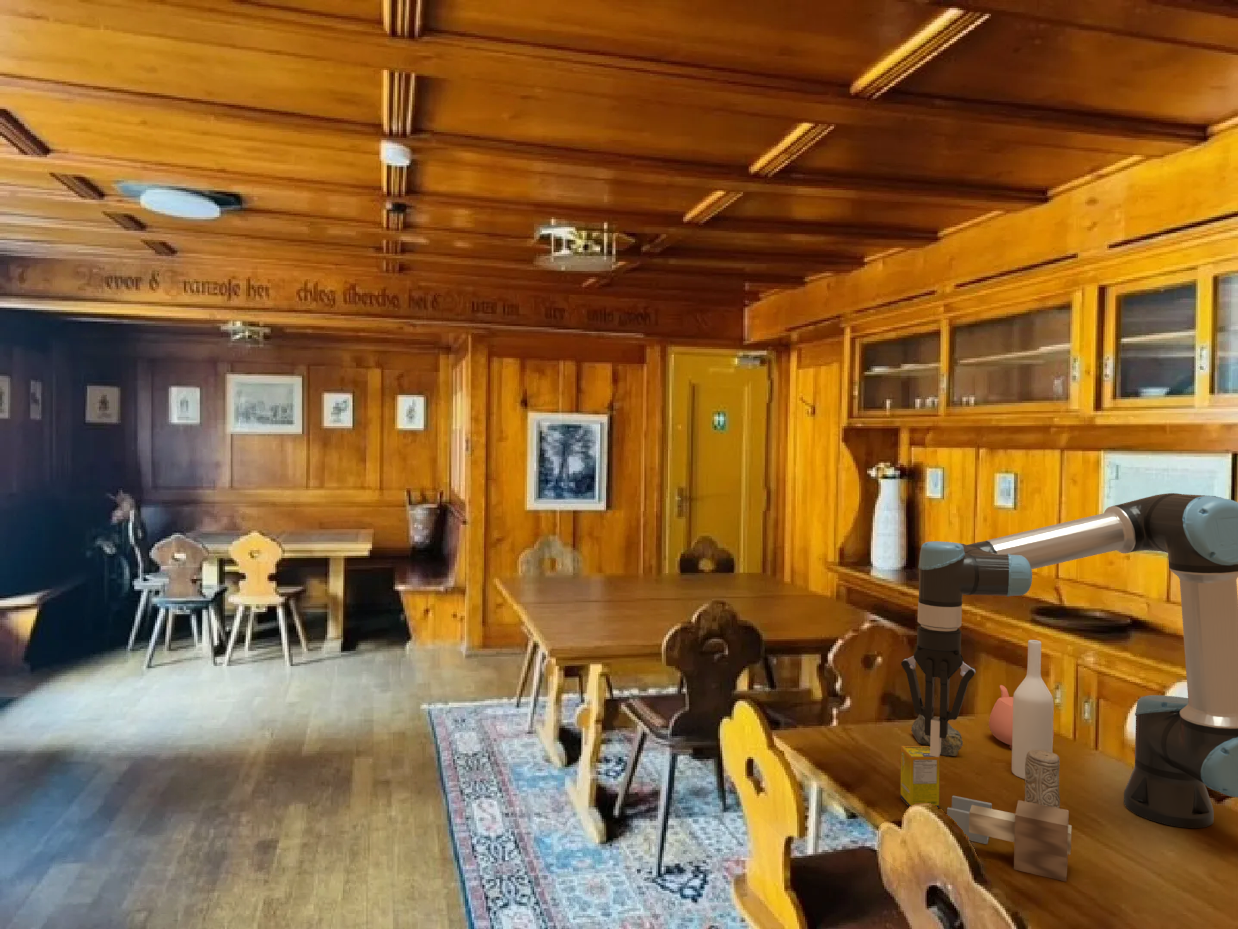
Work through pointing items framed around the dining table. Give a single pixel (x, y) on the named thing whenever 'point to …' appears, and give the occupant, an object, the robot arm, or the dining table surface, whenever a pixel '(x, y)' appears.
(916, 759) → the supplement box
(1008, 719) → the teapot
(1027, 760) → the carving
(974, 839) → the cradle
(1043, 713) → the bottle
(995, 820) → the axle bar
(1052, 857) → the block
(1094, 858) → the dining table surface
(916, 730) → the rock
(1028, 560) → the robot arm
